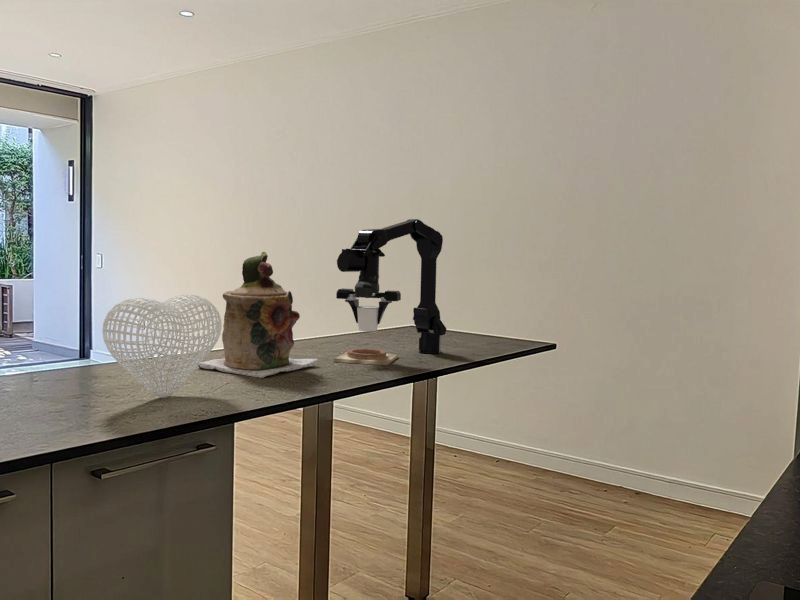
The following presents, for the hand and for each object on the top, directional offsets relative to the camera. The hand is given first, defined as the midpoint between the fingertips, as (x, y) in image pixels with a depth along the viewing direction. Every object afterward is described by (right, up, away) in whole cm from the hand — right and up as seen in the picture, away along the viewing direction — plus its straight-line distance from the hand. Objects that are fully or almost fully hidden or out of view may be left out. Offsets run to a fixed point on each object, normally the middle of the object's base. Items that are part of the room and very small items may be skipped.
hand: (367, 323), depth 215 cm
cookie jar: (-29, -12, -18) cm, 36 cm away
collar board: (0, -11, +1) cm, 11 cm away
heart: (-42, -15, -59) cm, 73 cm away
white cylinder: (0, -2, 0) cm, 2 cm away
